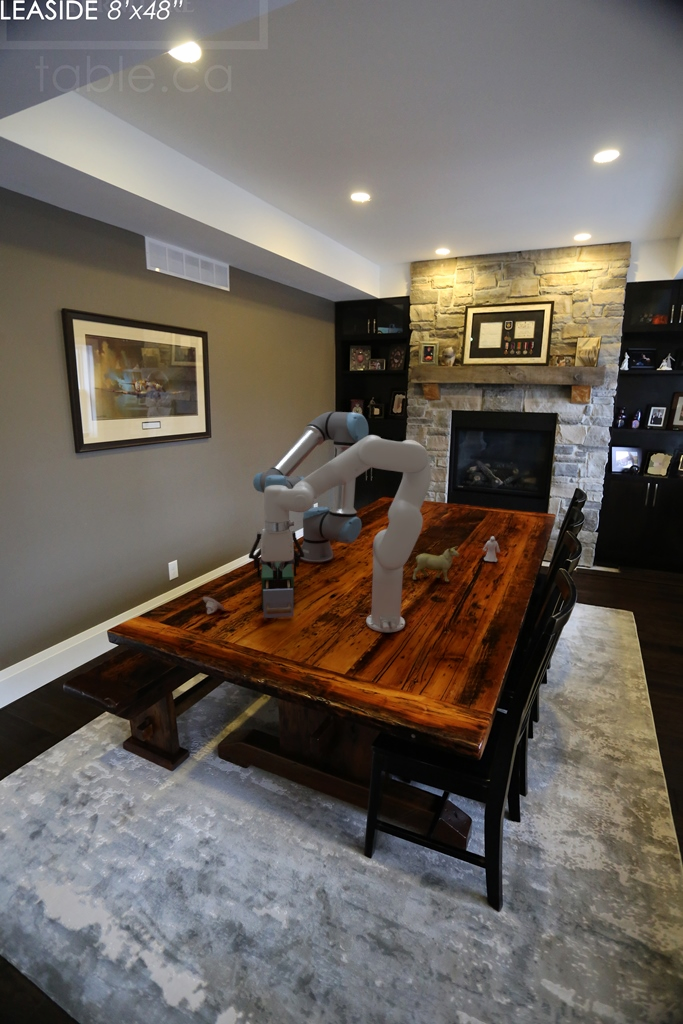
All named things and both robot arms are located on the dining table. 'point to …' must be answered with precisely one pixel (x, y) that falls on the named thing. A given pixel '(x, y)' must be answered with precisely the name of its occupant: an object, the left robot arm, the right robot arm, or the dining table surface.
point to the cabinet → (268, 574)
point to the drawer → (278, 599)
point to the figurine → (491, 550)
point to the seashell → (212, 605)
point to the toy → (436, 563)
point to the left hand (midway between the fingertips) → (276, 575)
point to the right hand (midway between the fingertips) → (277, 581)
